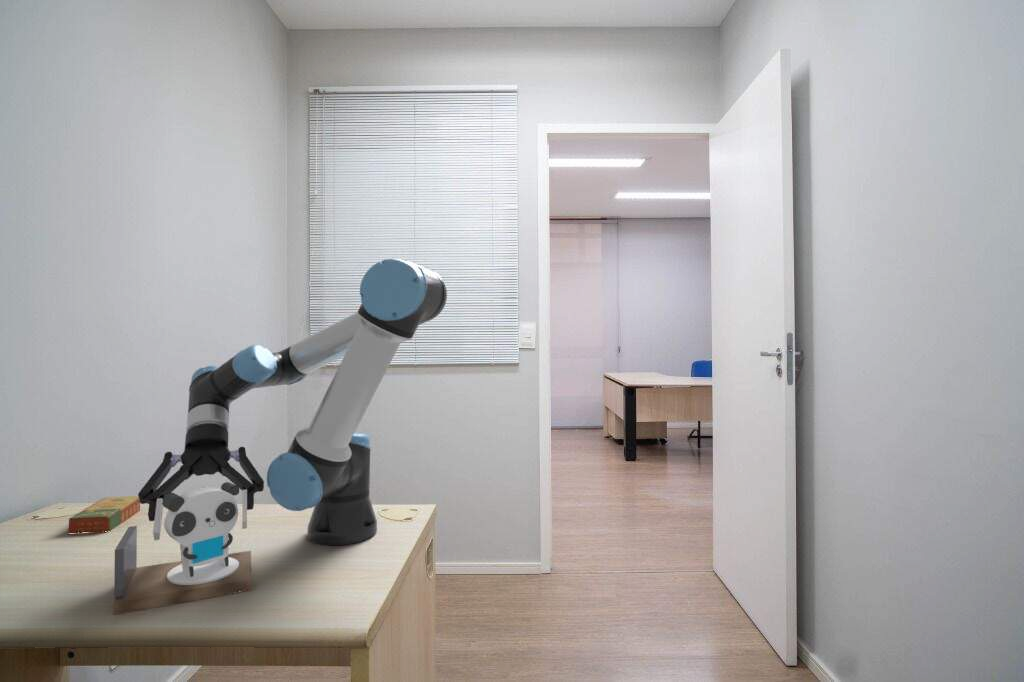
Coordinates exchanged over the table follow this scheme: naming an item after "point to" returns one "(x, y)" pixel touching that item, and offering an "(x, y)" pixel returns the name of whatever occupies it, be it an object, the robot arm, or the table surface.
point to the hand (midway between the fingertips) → (201, 530)
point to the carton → (104, 514)
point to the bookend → (125, 562)
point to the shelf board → (179, 586)
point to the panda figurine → (202, 533)
